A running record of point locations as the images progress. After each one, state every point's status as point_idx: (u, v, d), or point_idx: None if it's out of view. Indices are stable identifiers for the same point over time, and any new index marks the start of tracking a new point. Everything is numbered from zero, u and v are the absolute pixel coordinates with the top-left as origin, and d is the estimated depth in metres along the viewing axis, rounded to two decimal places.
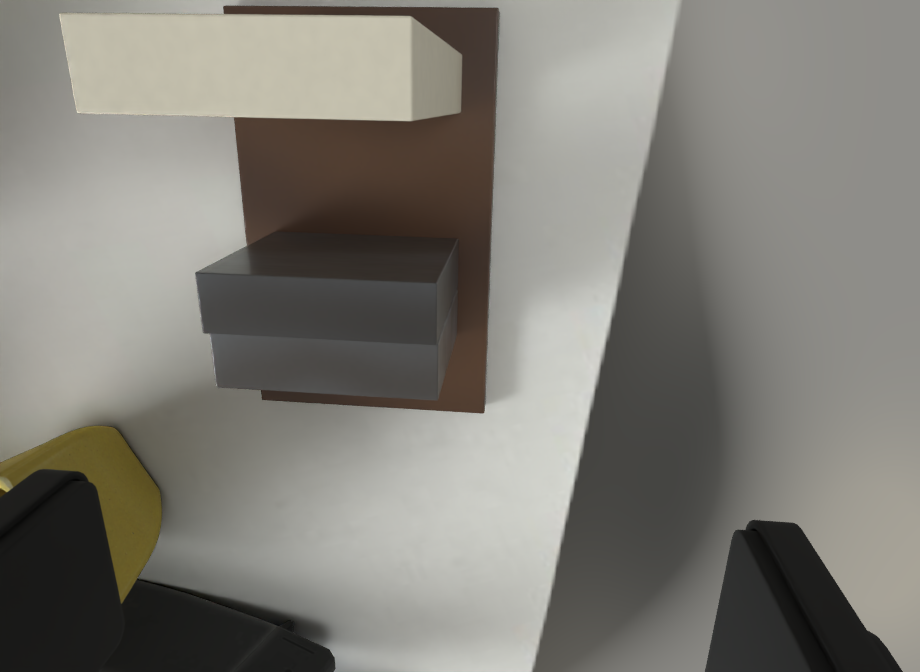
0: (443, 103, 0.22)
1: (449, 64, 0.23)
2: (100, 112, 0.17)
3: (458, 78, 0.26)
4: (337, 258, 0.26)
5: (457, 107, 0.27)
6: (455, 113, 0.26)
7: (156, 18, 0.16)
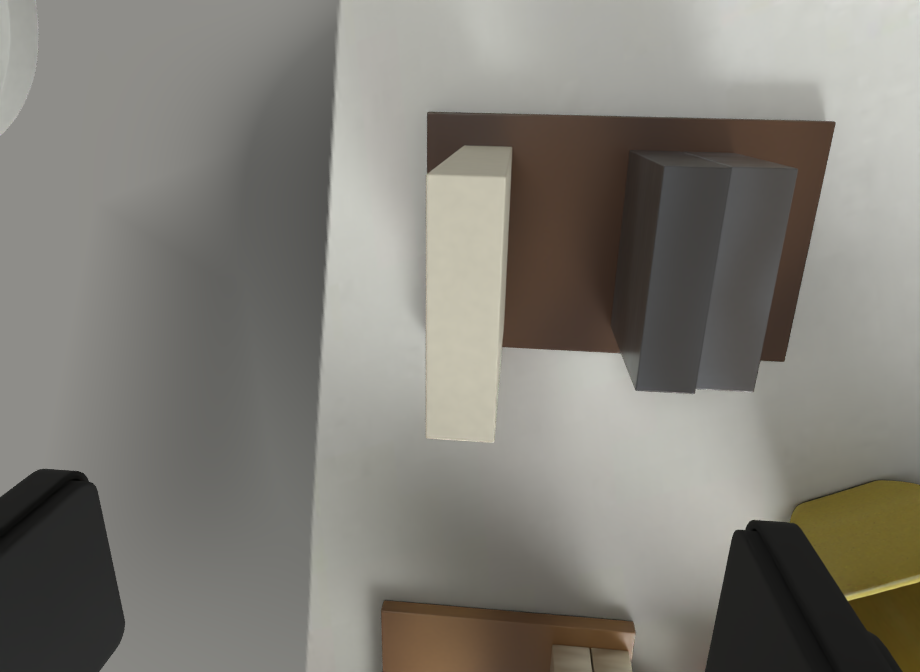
0: (499, 157, 0.25)
1: (469, 153, 0.26)
2: (493, 425, 0.22)
3: (482, 148, 0.30)
4: (635, 266, 0.27)
5: (506, 149, 0.29)
6: (511, 150, 0.29)
7: (428, 371, 0.21)
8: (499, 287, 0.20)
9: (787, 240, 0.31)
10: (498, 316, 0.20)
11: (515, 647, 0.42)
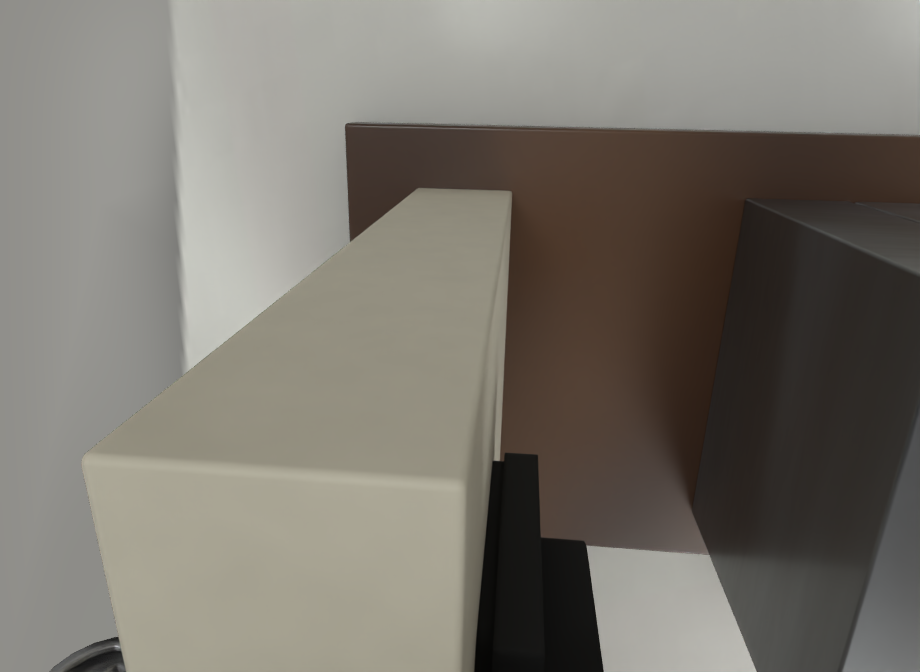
0: (476, 245, 0.10)
1: (409, 223, 0.11)
2: None
3: (450, 197, 0.15)
4: (787, 468, 0.12)
5: (499, 200, 0.14)
6: (509, 205, 0.14)
7: None
8: None
9: None
10: None
11: None
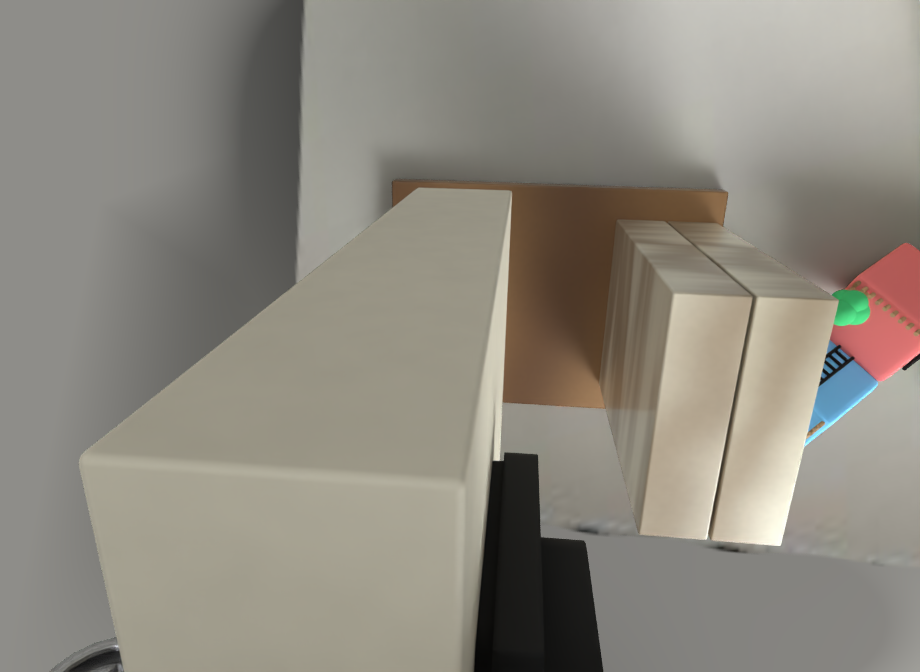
0: (476, 245, 0.10)
1: (409, 222, 0.11)
2: None
3: (450, 196, 0.14)
4: None
5: (499, 199, 0.14)
6: (509, 204, 0.14)
7: None
8: None
9: None
10: None
11: (567, 229, 0.32)
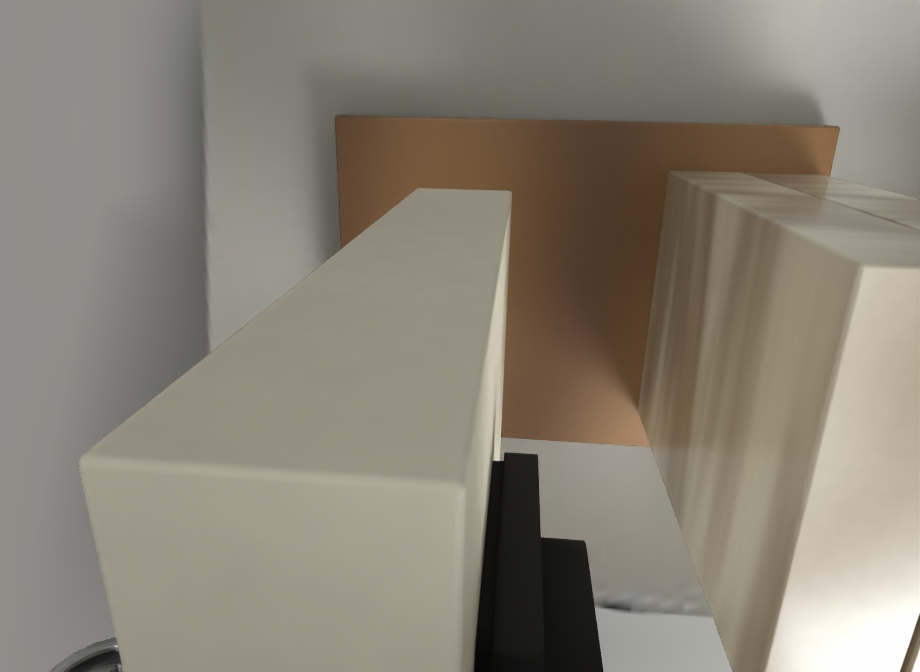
0: (476, 246, 0.10)
1: (409, 223, 0.11)
2: None
3: (450, 197, 0.14)
4: None
5: (499, 200, 0.14)
6: (508, 205, 0.14)
7: None
8: None
9: None
10: None
11: (594, 186, 0.22)
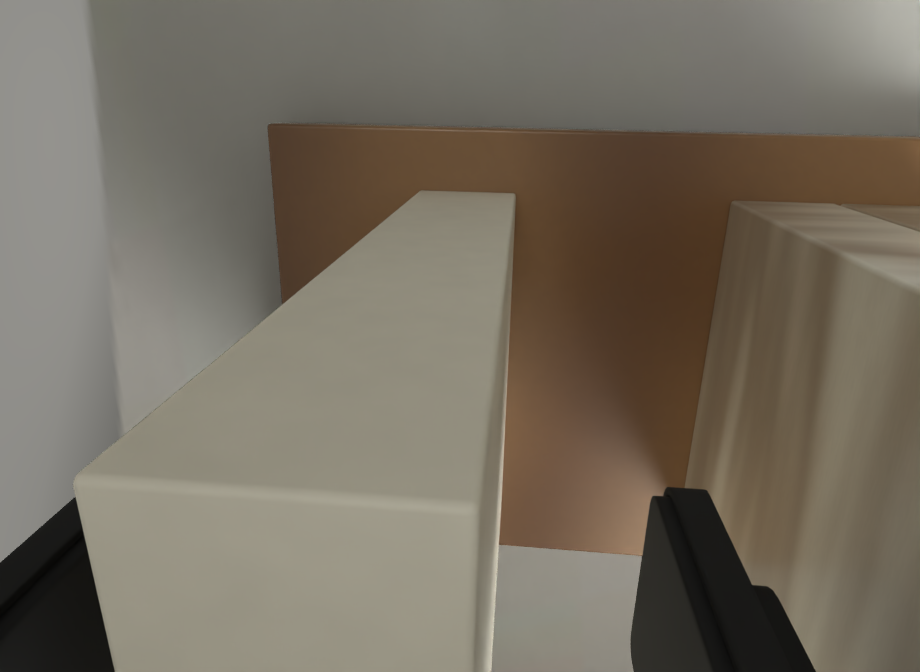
0: (481, 250, 0.10)
1: (412, 226, 0.11)
2: None
3: (453, 199, 0.14)
4: None
5: (503, 202, 0.14)
6: (513, 208, 0.13)
7: None
8: None
9: None
10: None
11: (626, 221, 0.16)
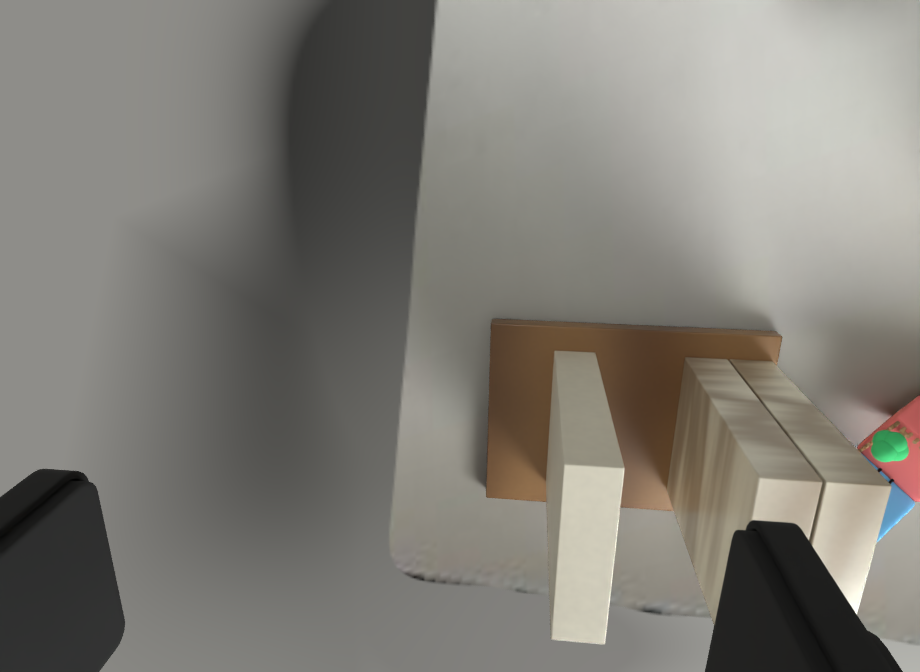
0: (598, 398, 0.31)
1: (570, 383, 0.33)
2: (605, 632, 0.28)
3: (573, 360, 0.36)
4: None
5: (593, 362, 0.36)
6: (598, 367, 0.35)
7: (556, 593, 0.28)
8: (615, 539, 0.26)
9: None
10: (613, 559, 0.27)
11: (642, 364, 0.37)
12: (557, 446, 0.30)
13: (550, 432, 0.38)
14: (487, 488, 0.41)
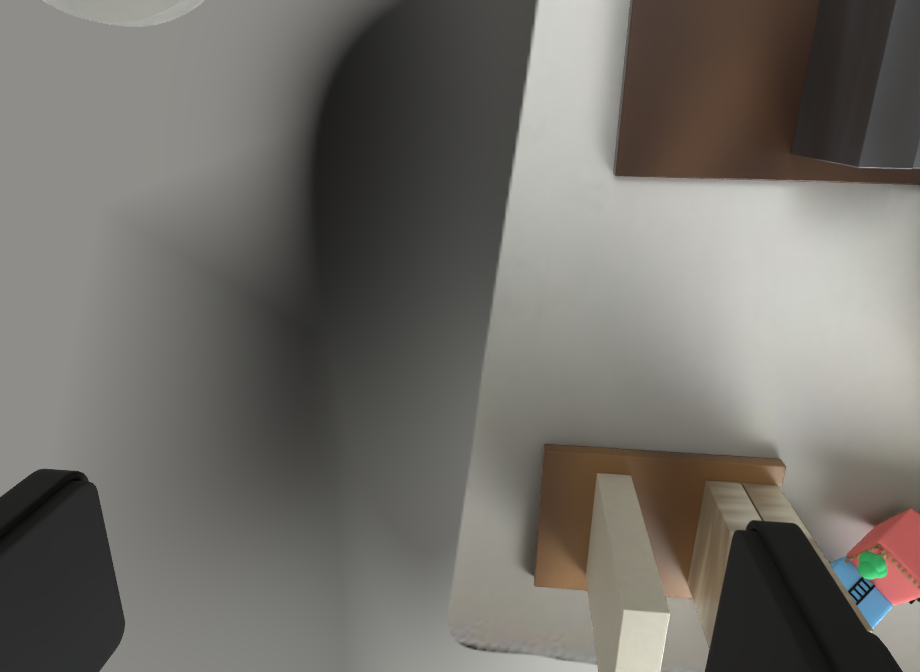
0: (641, 533, 0.39)
1: (615, 515, 0.40)
2: None
3: (614, 485, 0.44)
4: (848, 65, 0.31)
5: (631, 488, 0.43)
6: None
7: None
8: (660, 663, 0.34)
9: None
10: None
11: (669, 484, 0.45)
12: (609, 575, 0.38)
13: (593, 540, 0.45)
14: (535, 579, 0.49)
